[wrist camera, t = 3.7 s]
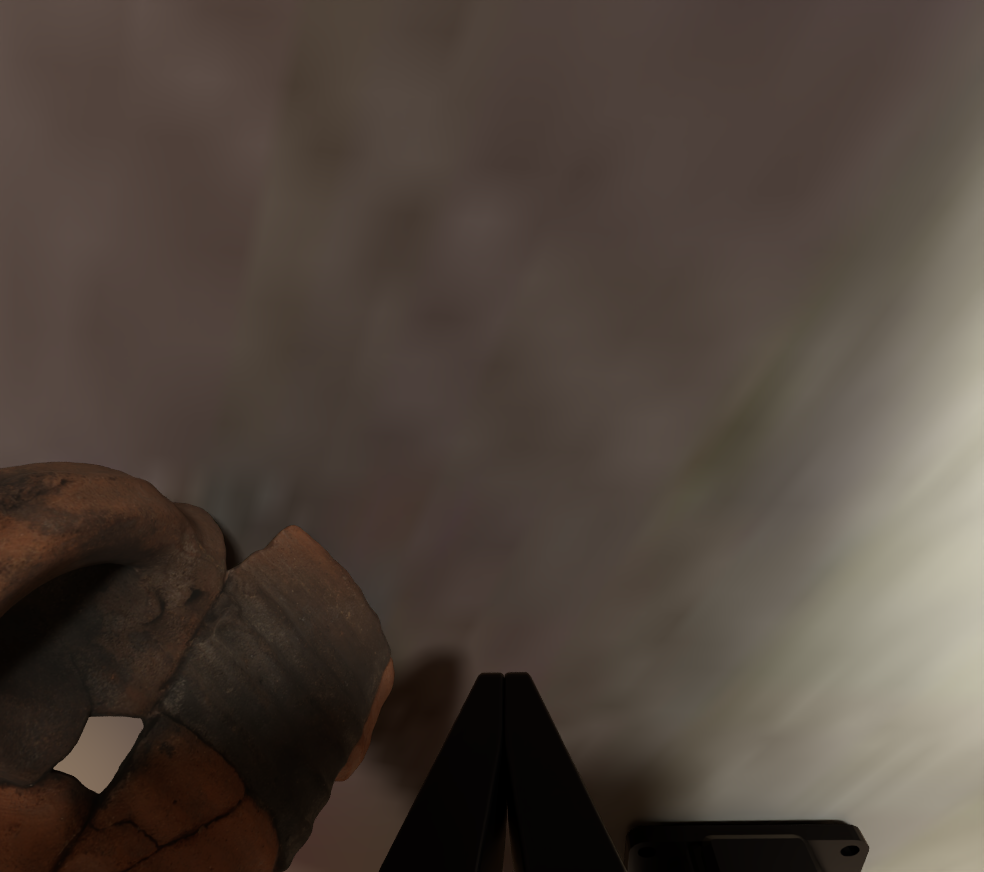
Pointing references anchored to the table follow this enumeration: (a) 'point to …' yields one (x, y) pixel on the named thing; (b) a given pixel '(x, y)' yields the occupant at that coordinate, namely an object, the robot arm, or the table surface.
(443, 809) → the robot arm
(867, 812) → the table surface
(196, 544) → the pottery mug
